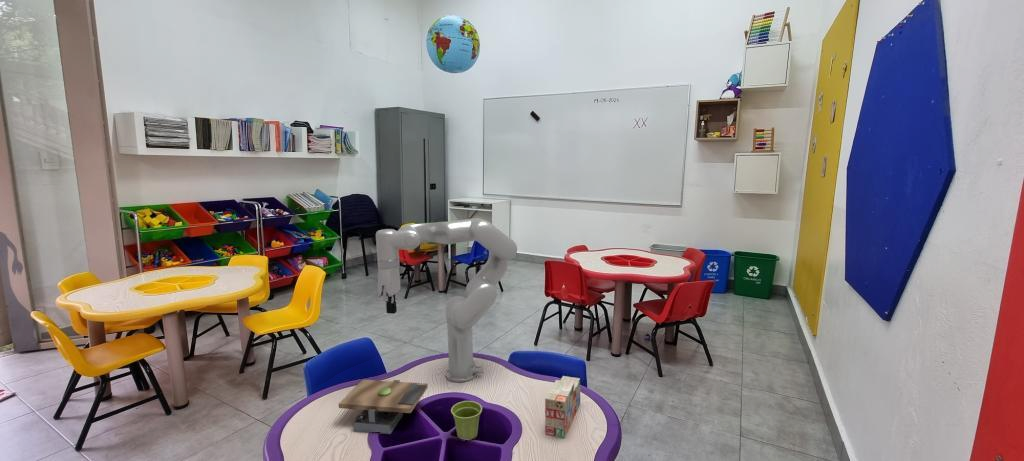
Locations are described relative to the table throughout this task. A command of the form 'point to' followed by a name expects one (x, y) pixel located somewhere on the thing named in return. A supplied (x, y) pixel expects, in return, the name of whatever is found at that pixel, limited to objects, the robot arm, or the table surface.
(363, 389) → the plate
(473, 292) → the robot arm
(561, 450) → the table surface
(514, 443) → the table surface
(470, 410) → the plant pot
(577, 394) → the stack of blocks
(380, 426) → the base
